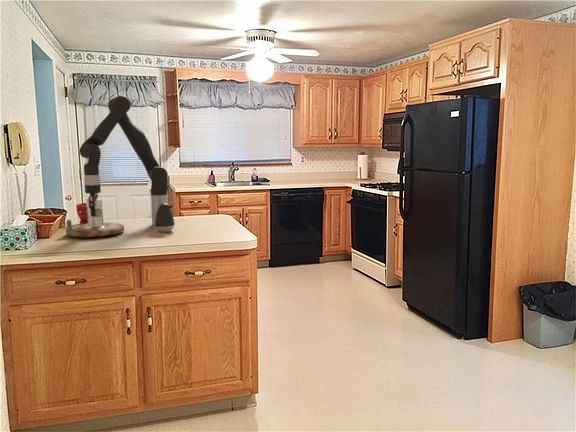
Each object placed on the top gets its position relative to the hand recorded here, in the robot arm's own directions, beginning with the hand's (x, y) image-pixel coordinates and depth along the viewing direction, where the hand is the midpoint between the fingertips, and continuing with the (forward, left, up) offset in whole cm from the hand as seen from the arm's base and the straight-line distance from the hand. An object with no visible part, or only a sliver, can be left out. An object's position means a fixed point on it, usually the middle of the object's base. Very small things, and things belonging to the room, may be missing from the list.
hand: (94, 215), depth 244 cm
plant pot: (+8, -32, -10) cm, 34 cm away
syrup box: (0, 0, -6) cm, 6 cm away
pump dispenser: (-35, +2, -10) cm, 36 cm away
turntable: (0, 0, -9) cm, 9 cm away
